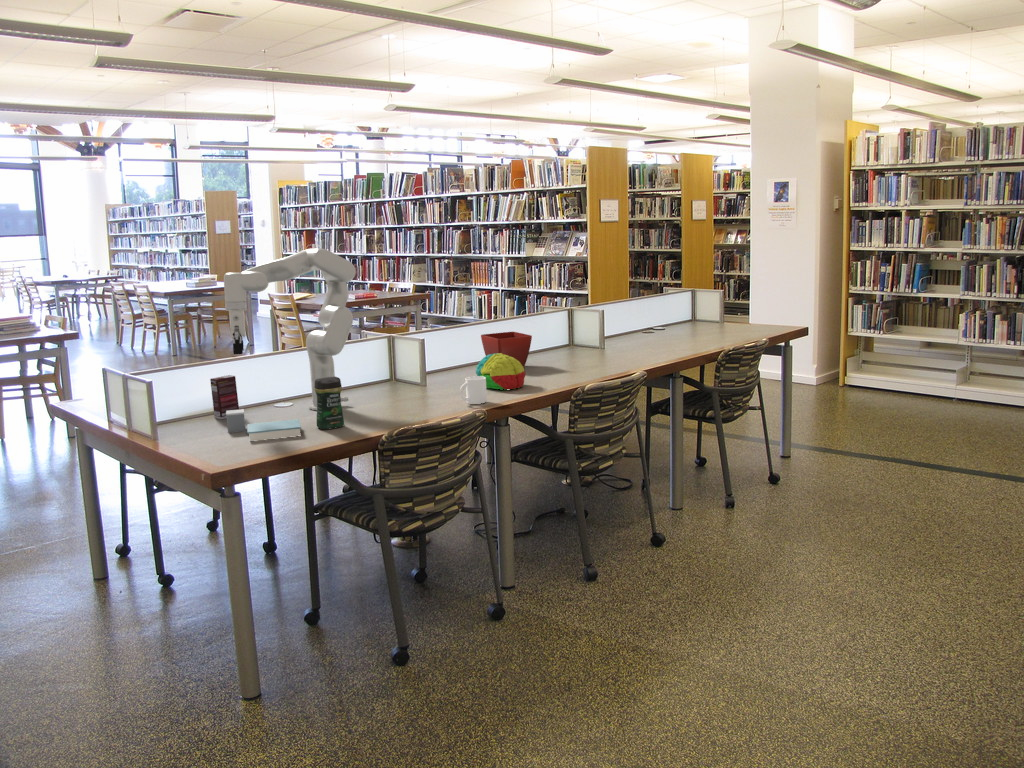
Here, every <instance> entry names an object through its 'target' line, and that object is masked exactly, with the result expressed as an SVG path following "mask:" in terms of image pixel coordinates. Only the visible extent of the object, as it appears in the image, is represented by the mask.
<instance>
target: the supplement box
mask: <svg viewBox="0 0 1024 768" xmlns="http://www.w3.org/2000/svg"><path fill="white" fill-rule="evenodd" d="M209 381H210V389H211V397H212V405H213V406H212V407H213V415H214V416H213V417H214V419H217V420H224V419H227V416H226V411H229V410H240V407H239V398H238V387H237V380H236V375H232V374H231V375H230V374H229V375H223V376H217V377H212V378H209Z"/></svg>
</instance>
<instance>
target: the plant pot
mask: <svg viewBox="0 0 1024 768" xmlns="http://www.w3.org/2000/svg"><path fill="white" fill-rule="evenodd" d="M532 336H533V335H531V334H526V333H523V332H522V333H521V332H517V331H506V332H505V331H504V332H503V331H502V332H495V333H494V332H493V333H484V334H480V339H481V345H482V347H483V351H484V355H485V357H486V356H487V355H490V354H496V353H502V354H503V355H508V356H510V357H513V358H514V359H516V360H518V361H519V362H520V363H521V365H522V366H523V368H525V366H526V363H527V360H528V358H529V354H530V349H531V345H532V338H533V337H532Z"/></svg>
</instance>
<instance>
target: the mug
mask: <svg viewBox="0 0 1024 768" xmlns="http://www.w3.org/2000/svg"><path fill="white" fill-rule="evenodd" d="M464 389H465V395H466V396H464ZM487 395H488V394H487V388H486V377H483V376H477V375H472V376H466V377H465V382H464V383H463V384H462V385H461V386H460V388H459V396H460V398H461V400H462V401H466V404H468V405H470V404H480V403H484V402H486V401H488V398H487ZM486 403H487V402H486Z"/></svg>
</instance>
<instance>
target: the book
mask: <svg viewBox="0 0 1024 768" xmlns="http://www.w3.org/2000/svg"><path fill="white" fill-rule="evenodd" d="M246 426H247V435H248V434H249V439H250V441H254V440H264V439H273V438H281V437H290V436H298V435H302V433H301V434H300V432H301V429H302V426H301V422H300V418H299V419H298V418H296V419H294V418H293V419H287V420H286V419H284V420H275V421H273V420H272V421H266V422H263V421H262V422H256V423H255V422H254V423H247V425H246Z"/></svg>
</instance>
